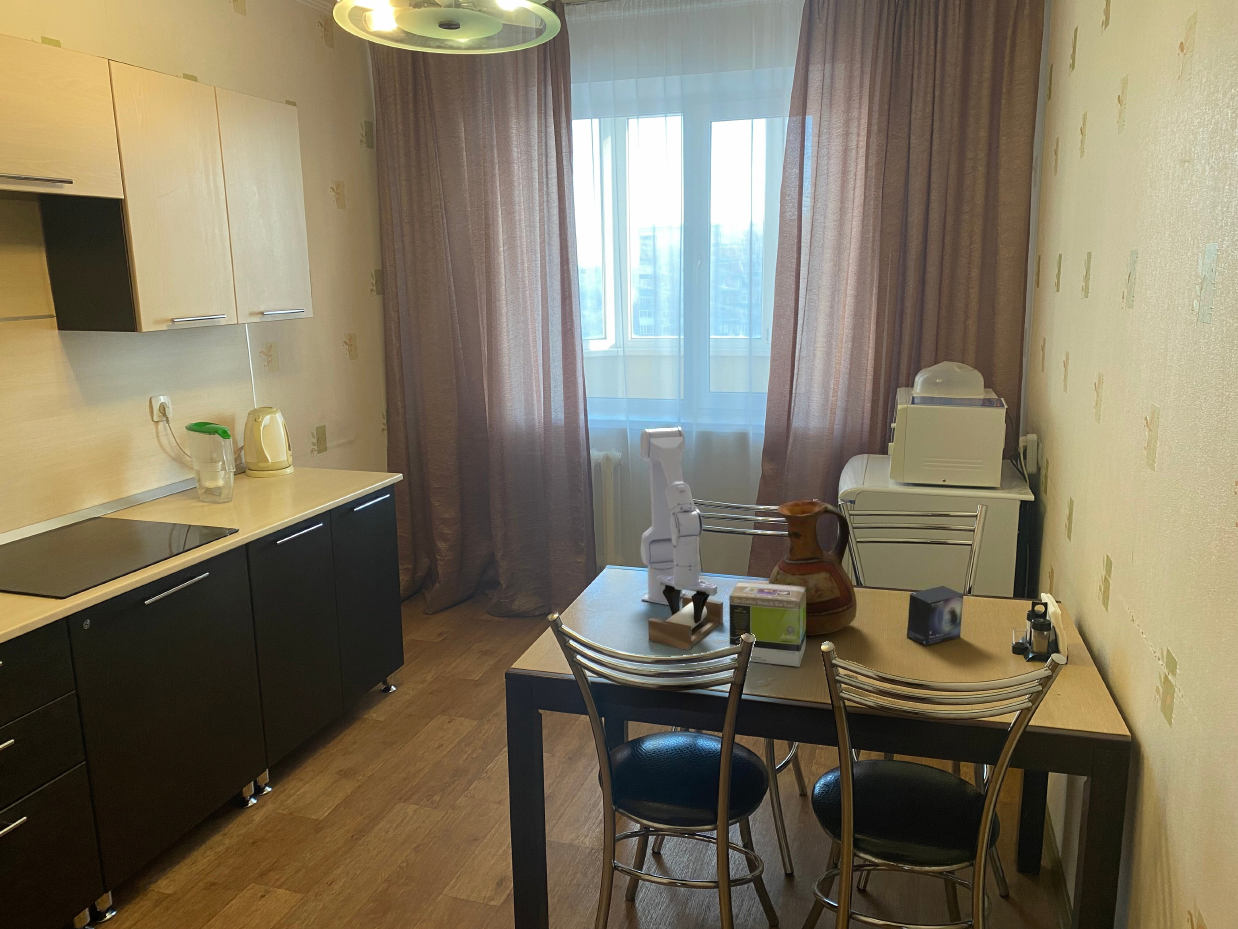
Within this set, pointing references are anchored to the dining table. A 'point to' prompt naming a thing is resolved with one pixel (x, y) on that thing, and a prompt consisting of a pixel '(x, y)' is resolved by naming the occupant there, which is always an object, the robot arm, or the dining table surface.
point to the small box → (935, 615)
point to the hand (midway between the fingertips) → (686, 619)
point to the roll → (687, 616)
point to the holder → (684, 627)
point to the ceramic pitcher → (817, 567)
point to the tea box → (770, 621)
